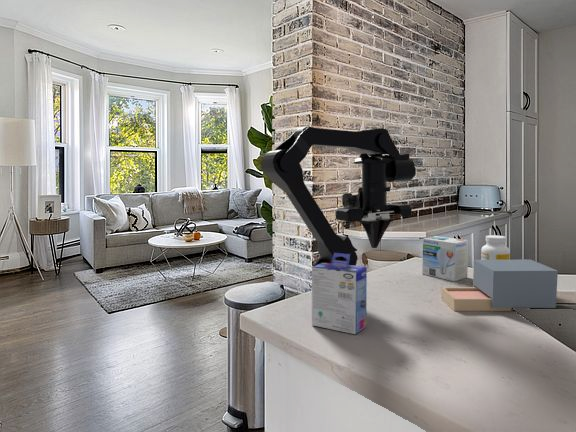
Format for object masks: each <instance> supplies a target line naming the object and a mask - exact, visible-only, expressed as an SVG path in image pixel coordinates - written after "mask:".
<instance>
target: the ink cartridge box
mask: <svg viewBox="0 0 576 432" xmlns="http://www.w3.org/2000/svg"><path fill="white" fill-rule="evenodd" d="M336 257H344V258H346V259H347V260H346V261H340V260H335V258H336ZM349 260H350V254H343V253H334V255H333V258H332V262H331V263H321V264H318V265H316V266H314V265H312V266H311V325H312V326H313V327H314V326H315V327H319V328H324V329H329V330H333V331H338V332H341V333H347V334H351V335H357V334H358V333H359V332H361V331H362V330H364V329H365V328H367V322H368V321H367V305H368V304H367V297H368V296H367V293H368V292H367V287H368V286H367V285H368V283H367V281H368V280H367V279H368V278H367V275H368V273H367V272H368V271H367V269H368V268H367V266H363V265H356V266H354V265H349Z"/></svg>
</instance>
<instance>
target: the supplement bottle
mask: <svg viewBox="0 0 576 432" xmlns="http://www.w3.org/2000/svg"><path fill="white" fill-rule="evenodd" d="M485 242H486V243H485V244H484V245H483V246H482V247H481V249H480V250H481V252H480V260H511V259H510V258H511V257H510V256H511V255H510V253H511V252H510V251H511V250H510V248H509V247H508V246H506V245H505V244H506V242H507V237H506V236H505V235H498V234H497V235H493V234H492V235H490V234H489V235H485Z"/></svg>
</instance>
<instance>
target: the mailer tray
mask: <svg viewBox="0 0 576 432" xmlns="http://www.w3.org/2000/svg"><path fill="white" fill-rule="evenodd" d="M440 288H441V293H440V294H441V295H440V298H441V299H442V300H443V302H444V303H445V304H447V305H448V307H450V308H451V309H452V310H453V312H475V311H476V312H511V311H512V308H492V307H491V304H492V298H491V297H490V296H488V295H487V294H486V293H484V292H483V291H481V290H480V289H479V288H477V287H473V286H472V287H470V286H468V287H467V286H466V287H465V286H464V287H463V286H461V287H458V286H457V287H455V286H453V287H451V286H450V287H443V286H442V287H440Z"/></svg>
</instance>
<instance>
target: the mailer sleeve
mask: <svg viewBox="0 0 576 432" xmlns="http://www.w3.org/2000/svg"><path fill="white" fill-rule="evenodd" d="M558 273H559V271H558V270H557V269H554V268H552V267H550V266H548V265H545V264H542V263H541V262H538V261H535V260H533V259H526V258H524V259H510V260H481V259H473V274H472V275H473V279H472V287H477V288H479V289H480V290H481V291H483V292H484V293H486V294H487V295H488V296H490V297H491V298H492V304H491V307H492V308H511V309H514V308H515V309H521V308H522V309H531V308H532V309H539V308H540V309H555V308H557V292H558Z"/></svg>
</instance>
